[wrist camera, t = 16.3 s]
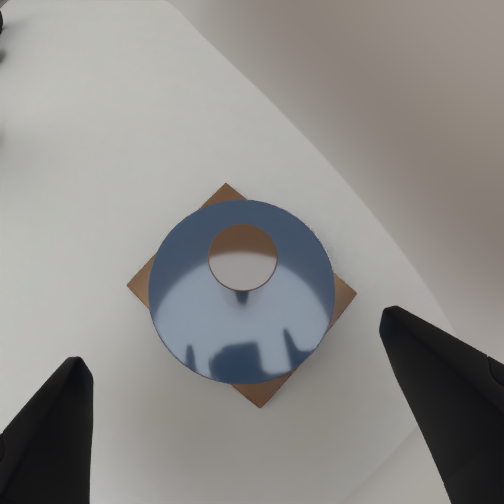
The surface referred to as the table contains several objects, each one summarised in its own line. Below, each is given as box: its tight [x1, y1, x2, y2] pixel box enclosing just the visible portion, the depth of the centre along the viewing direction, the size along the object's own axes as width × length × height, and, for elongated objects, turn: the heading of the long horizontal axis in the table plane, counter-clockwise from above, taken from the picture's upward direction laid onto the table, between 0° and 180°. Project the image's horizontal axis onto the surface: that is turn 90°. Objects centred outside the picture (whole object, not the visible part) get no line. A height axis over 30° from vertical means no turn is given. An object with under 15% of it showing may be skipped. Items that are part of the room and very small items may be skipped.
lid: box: [148, 200, 335, 385], centre depth 16 cm, size 12×12×9 cm
